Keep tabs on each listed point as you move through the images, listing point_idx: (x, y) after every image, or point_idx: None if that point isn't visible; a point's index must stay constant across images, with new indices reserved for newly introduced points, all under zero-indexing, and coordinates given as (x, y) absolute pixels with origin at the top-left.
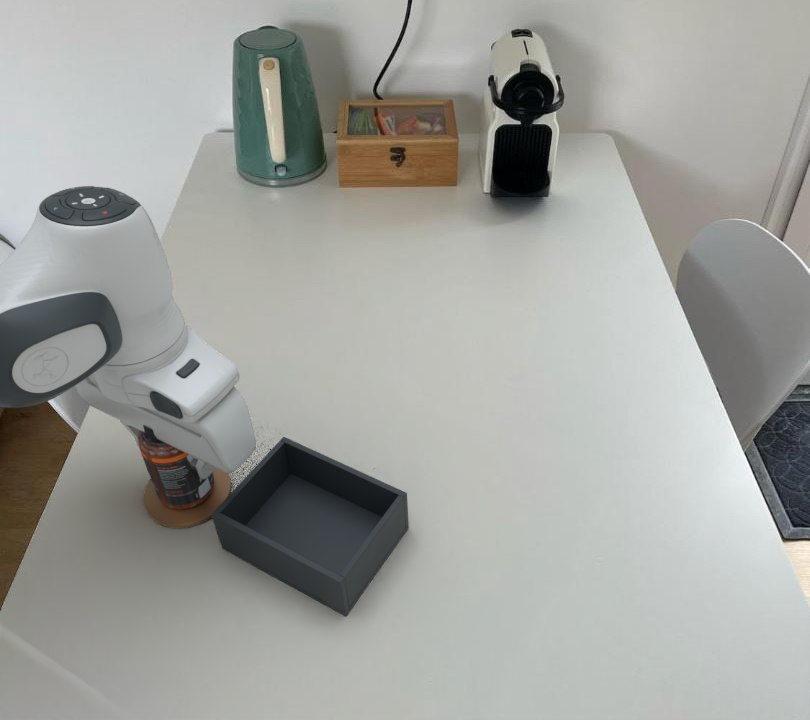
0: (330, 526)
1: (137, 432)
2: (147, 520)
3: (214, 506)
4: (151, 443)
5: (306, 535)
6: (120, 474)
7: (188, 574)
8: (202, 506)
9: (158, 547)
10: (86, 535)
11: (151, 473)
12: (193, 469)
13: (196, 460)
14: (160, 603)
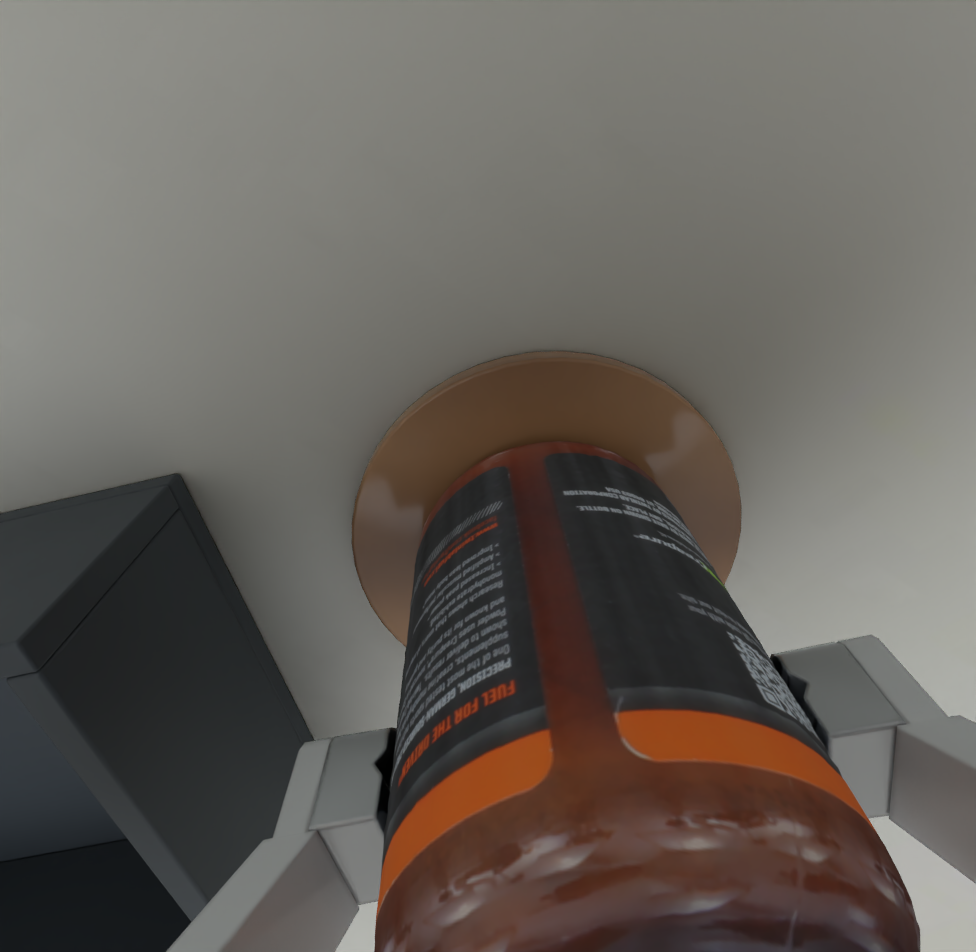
0: (8, 771)
1: (936, 768)
2: (563, 331)
3: (376, 573)
4: None
5: (19, 707)
6: (895, 391)
7: (140, 291)
8: (415, 542)
9: (382, 278)
10: (754, 23)
11: (588, 582)
12: (356, 779)
13: (367, 850)
14: (50, 75)
